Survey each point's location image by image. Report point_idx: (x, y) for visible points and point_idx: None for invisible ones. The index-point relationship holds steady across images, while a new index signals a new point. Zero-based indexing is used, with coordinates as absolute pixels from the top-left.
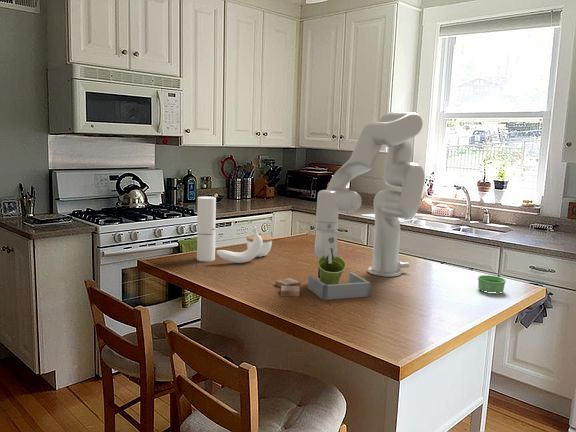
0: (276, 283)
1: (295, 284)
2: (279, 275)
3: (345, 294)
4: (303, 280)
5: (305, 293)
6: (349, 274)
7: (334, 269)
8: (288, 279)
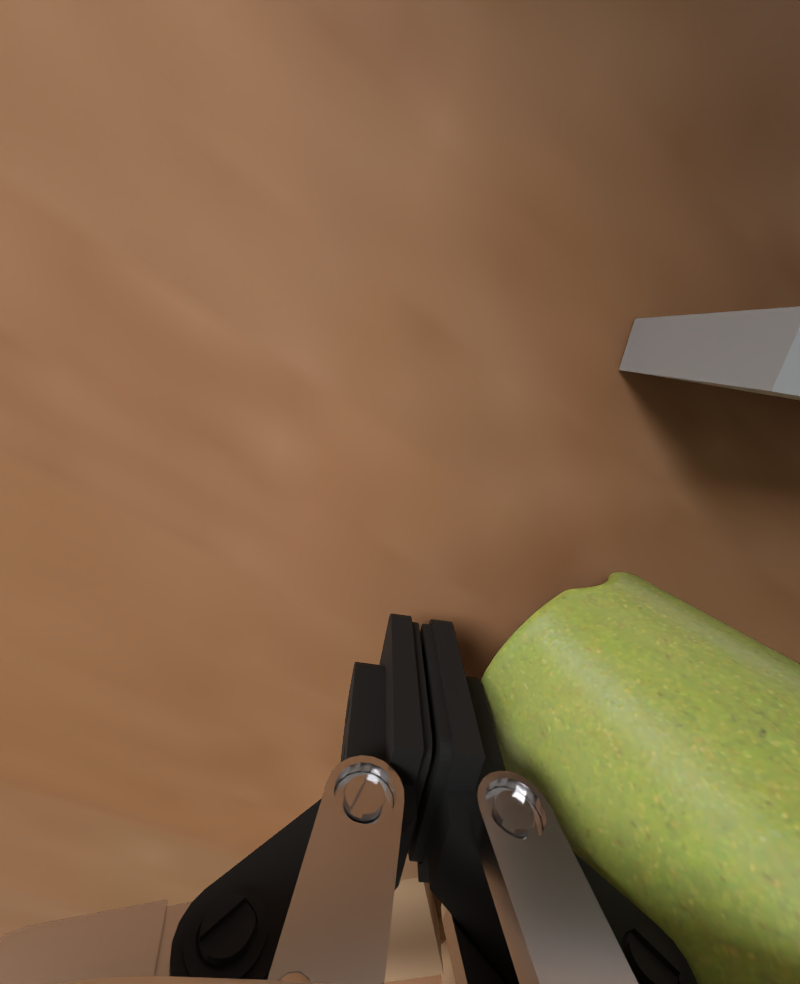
0: None
1: (428, 896)
2: (9, 843)
3: None
4: (237, 736)
5: None
6: (740, 386)
7: (674, 742)
8: None
